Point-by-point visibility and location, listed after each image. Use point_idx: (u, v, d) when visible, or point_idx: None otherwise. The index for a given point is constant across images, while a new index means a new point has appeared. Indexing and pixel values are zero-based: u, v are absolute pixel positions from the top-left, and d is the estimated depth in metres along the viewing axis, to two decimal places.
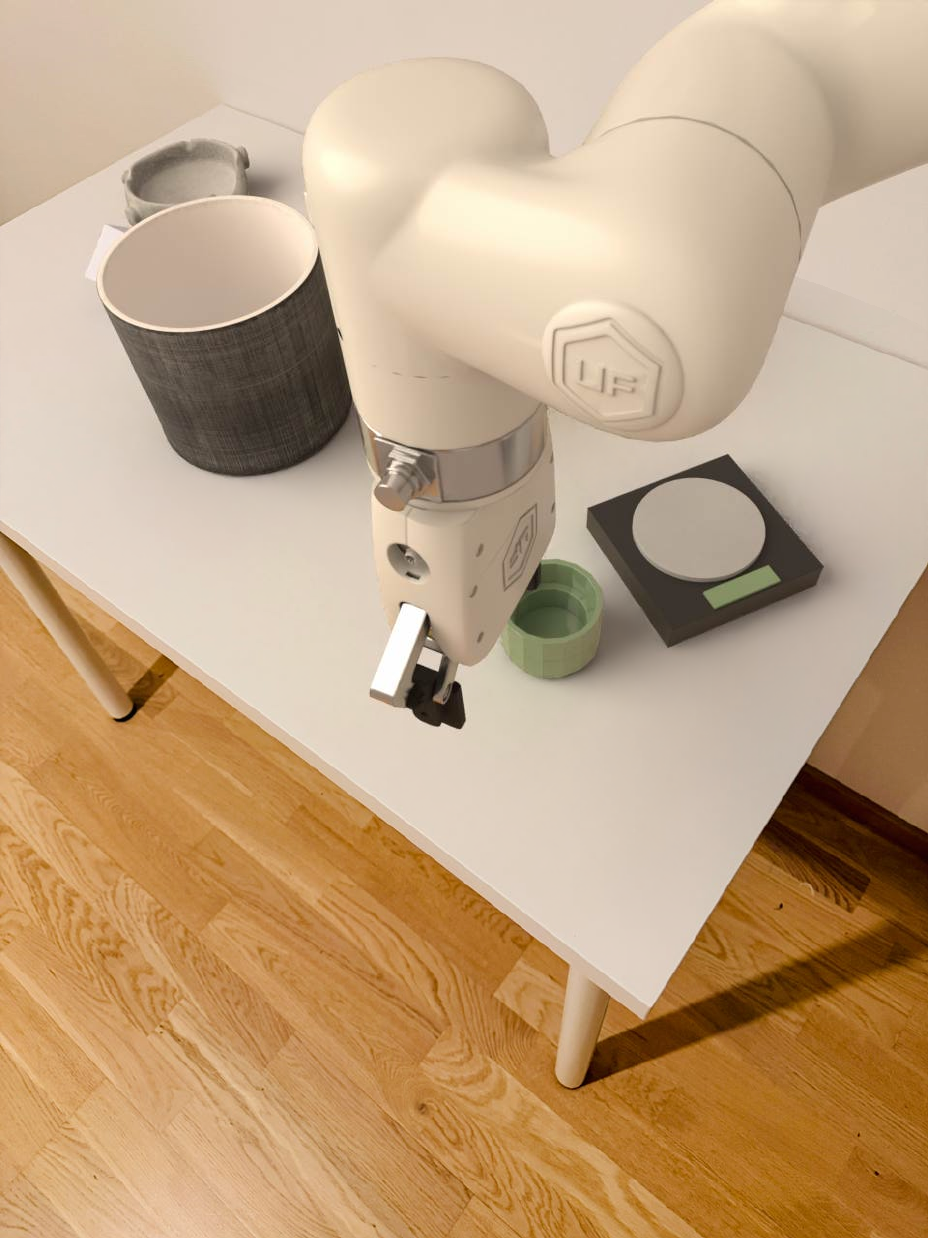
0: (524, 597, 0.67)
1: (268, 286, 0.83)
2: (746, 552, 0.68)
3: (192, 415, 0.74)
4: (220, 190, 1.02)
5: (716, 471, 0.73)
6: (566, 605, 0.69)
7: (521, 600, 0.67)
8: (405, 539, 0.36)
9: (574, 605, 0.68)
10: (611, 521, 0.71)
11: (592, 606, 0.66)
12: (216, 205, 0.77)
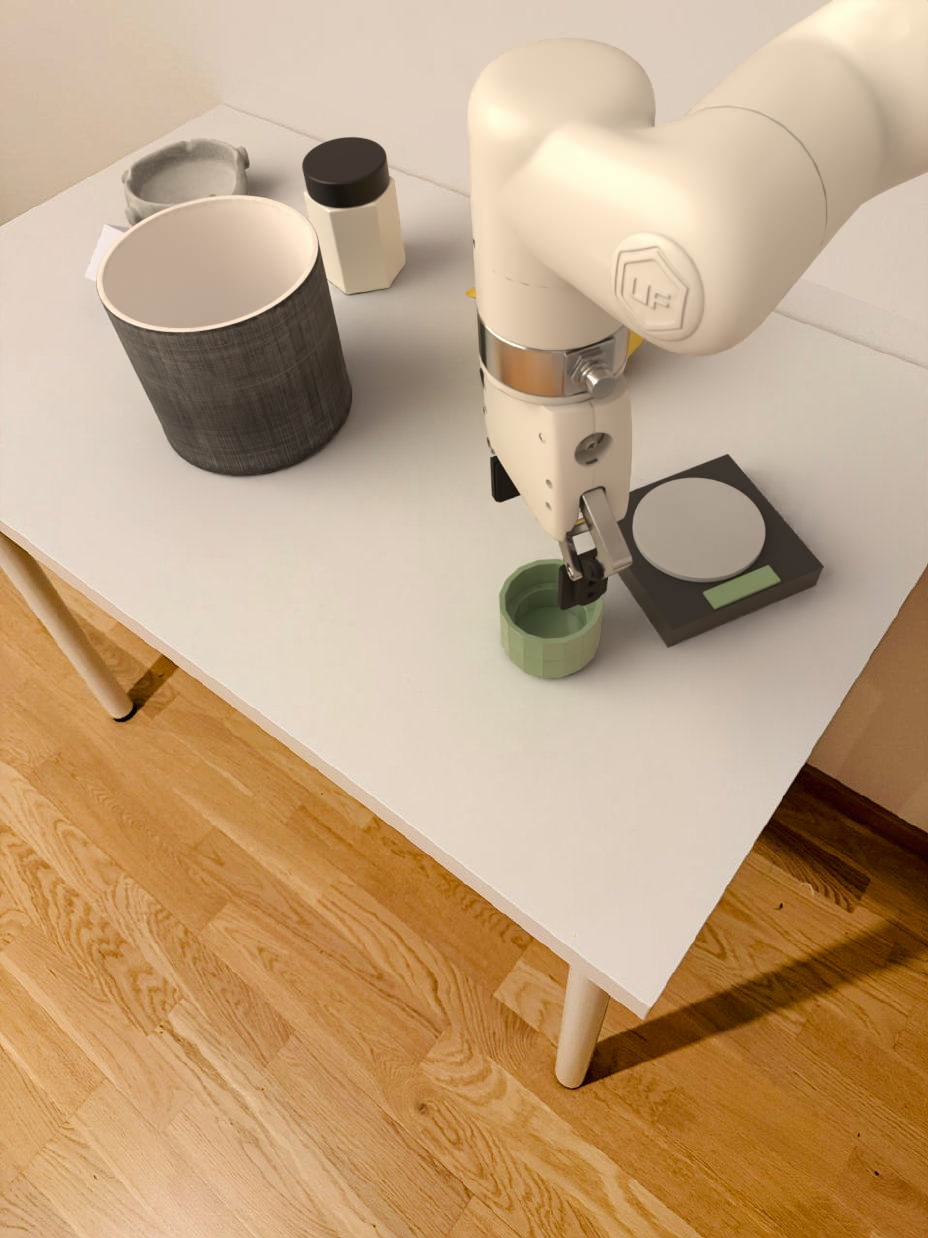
0: (524, 597, 0.67)
1: (268, 286, 0.83)
2: (746, 552, 0.68)
3: (192, 415, 0.74)
4: (220, 190, 1.02)
5: (716, 471, 0.73)
6: None
7: (521, 600, 0.67)
8: (592, 428, 0.44)
9: None
10: None
11: (592, 606, 0.66)
12: (216, 205, 0.77)
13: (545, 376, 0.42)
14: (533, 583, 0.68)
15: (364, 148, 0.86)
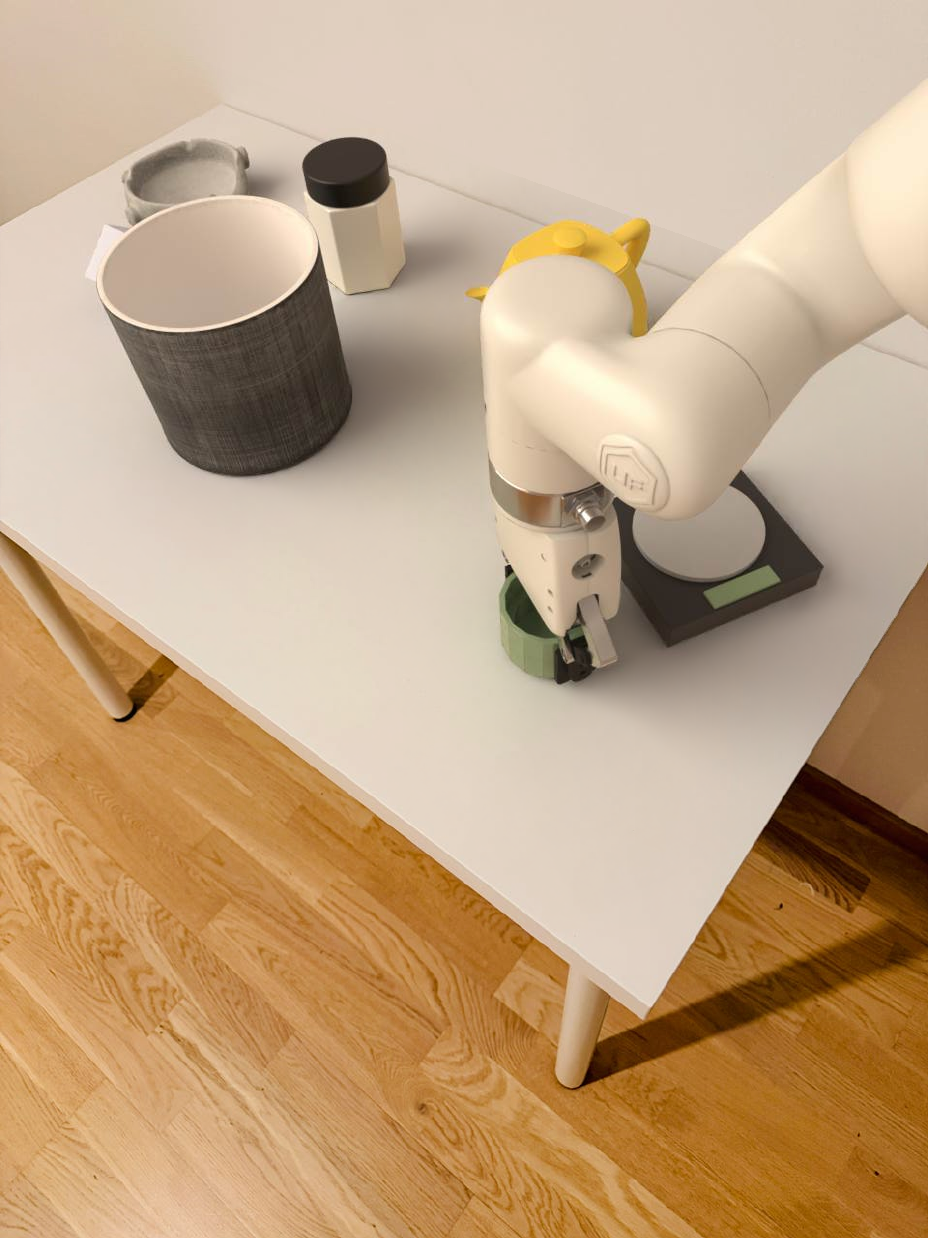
0: (524, 597, 0.67)
1: (268, 286, 0.83)
2: (746, 552, 0.68)
3: (192, 415, 0.74)
4: (220, 190, 1.02)
5: None
6: None
7: (521, 600, 0.67)
8: (587, 551, 0.53)
9: None
10: None
11: None
12: (216, 205, 0.77)
13: (546, 512, 0.51)
14: None
15: (364, 148, 0.86)
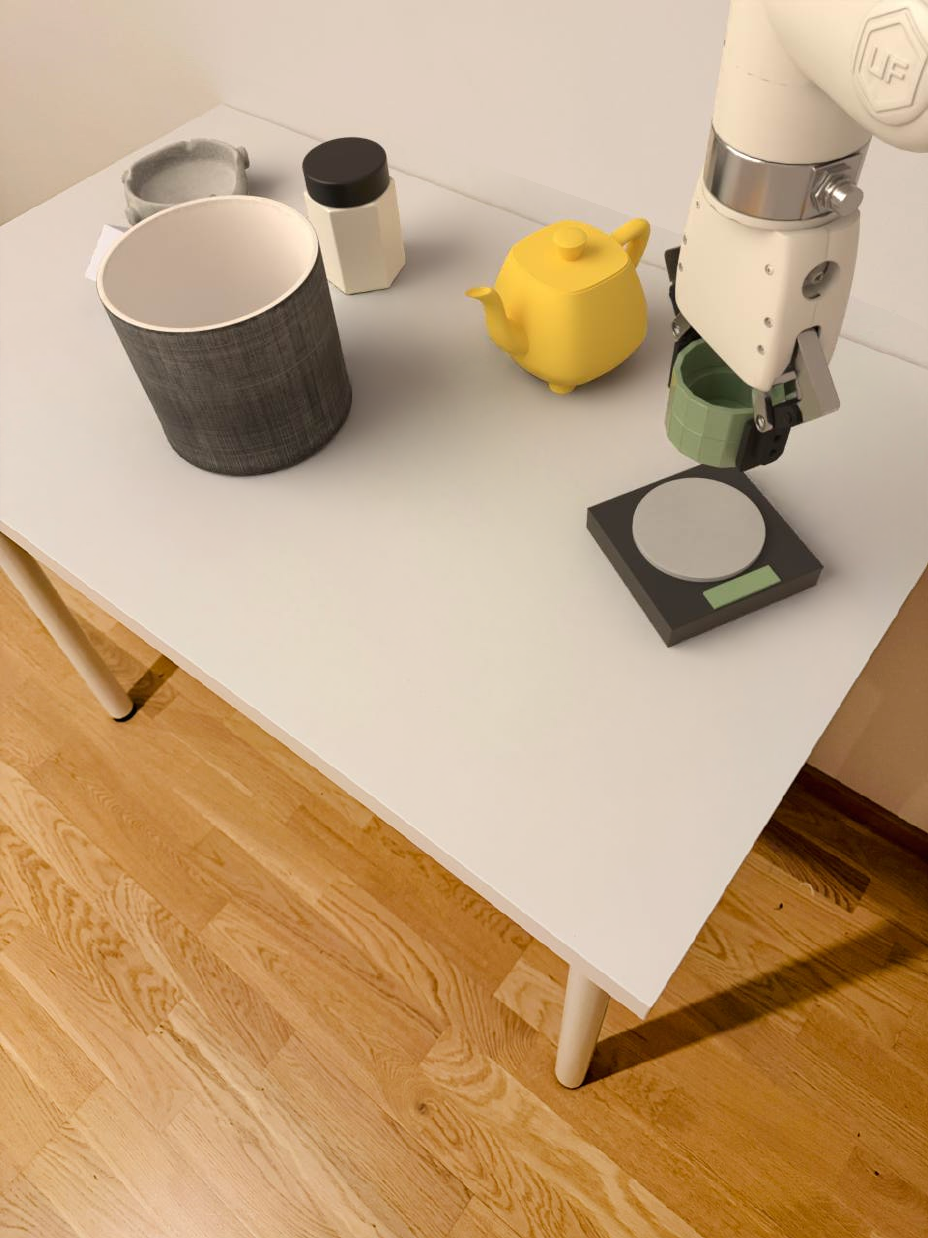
0: (694, 381, 0.59)
1: (268, 286, 0.83)
2: (746, 552, 0.68)
3: (192, 415, 0.74)
4: (220, 190, 1.02)
5: (716, 471, 0.73)
6: (738, 395, 0.61)
7: (691, 383, 0.59)
8: (825, 255, 0.45)
9: (749, 392, 0.60)
10: (611, 521, 0.71)
11: None
12: (216, 205, 0.77)
13: (787, 196, 0.43)
14: (703, 366, 0.59)
15: (364, 148, 0.86)
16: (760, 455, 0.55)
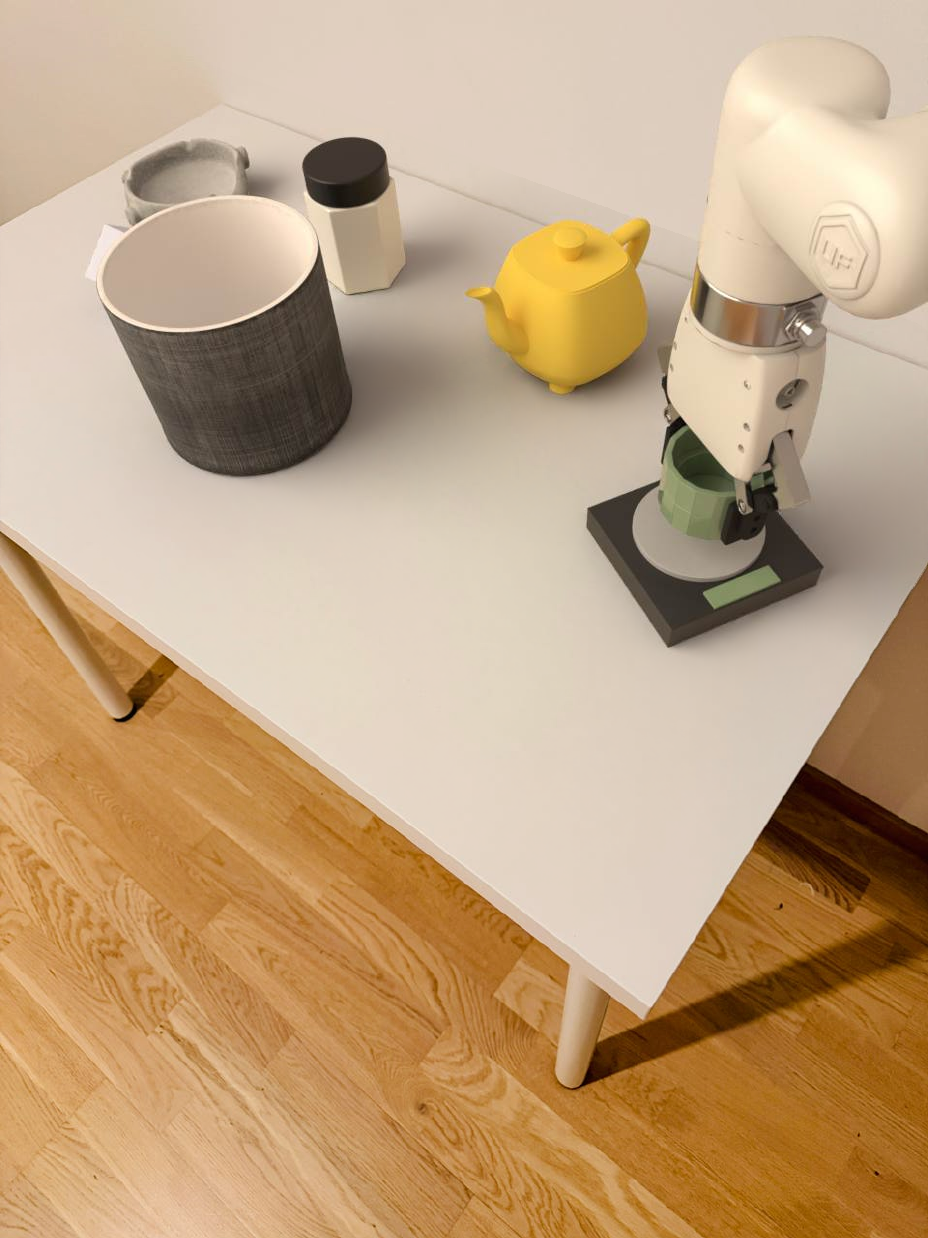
0: (684, 460, 0.66)
1: (268, 286, 0.83)
2: (746, 552, 0.68)
3: (192, 415, 0.74)
4: (220, 190, 1.02)
5: None
6: (724, 471, 0.67)
7: (681, 463, 0.66)
8: (795, 375, 0.51)
9: None
10: (611, 521, 0.71)
11: None
12: (216, 205, 0.77)
13: (762, 328, 0.49)
14: (692, 447, 0.66)
15: (364, 148, 0.86)
16: (742, 532, 0.62)
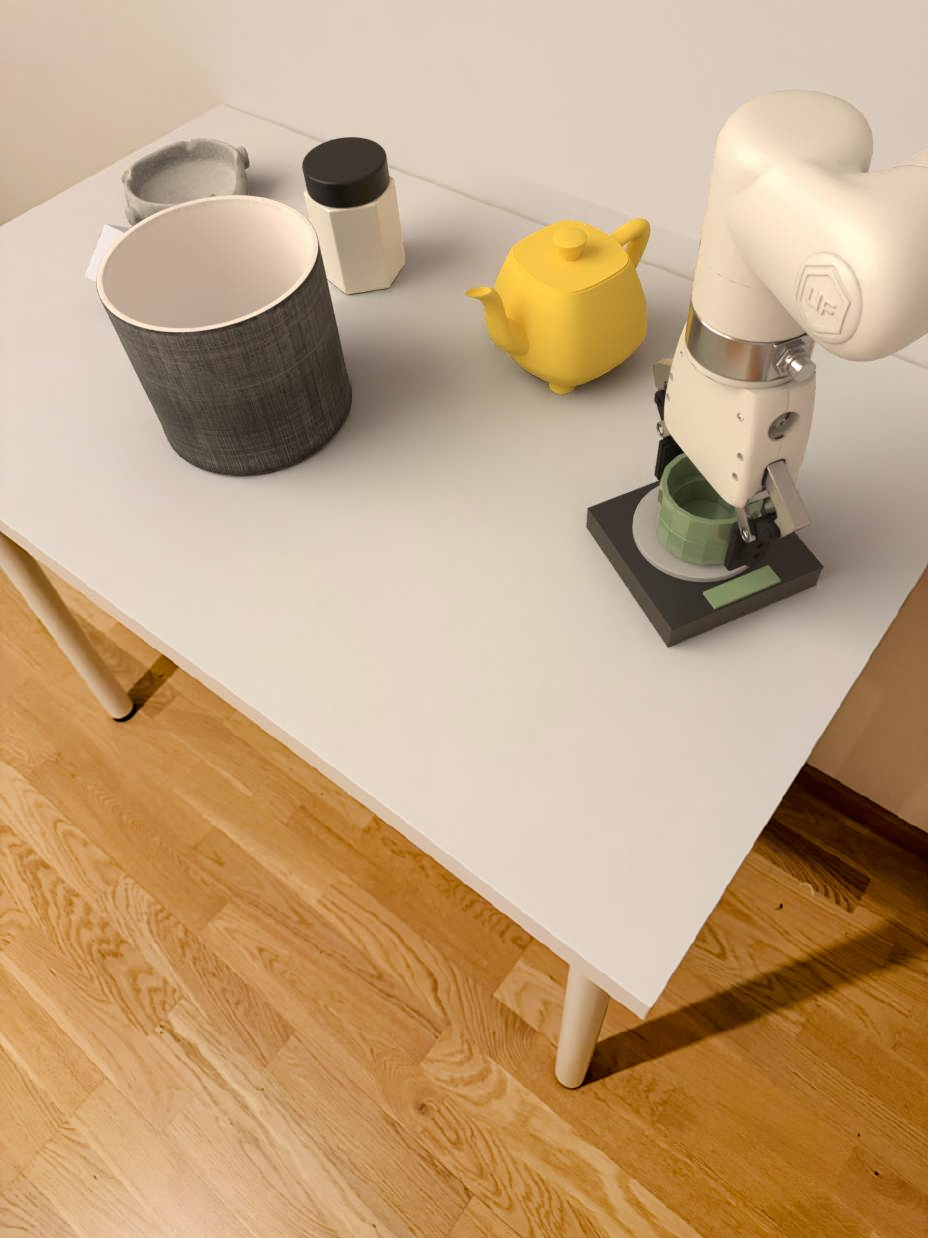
0: (679, 487, 0.68)
1: (268, 286, 0.83)
2: None
3: (192, 415, 0.74)
4: (220, 190, 1.02)
5: None
6: (718, 497, 0.70)
7: (676, 490, 0.68)
8: (786, 407, 0.53)
9: None
10: (611, 521, 0.71)
11: None
12: (216, 205, 0.77)
13: (753, 364, 0.51)
14: (687, 474, 0.69)
15: (364, 148, 0.86)
16: (745, 559, 0.63)
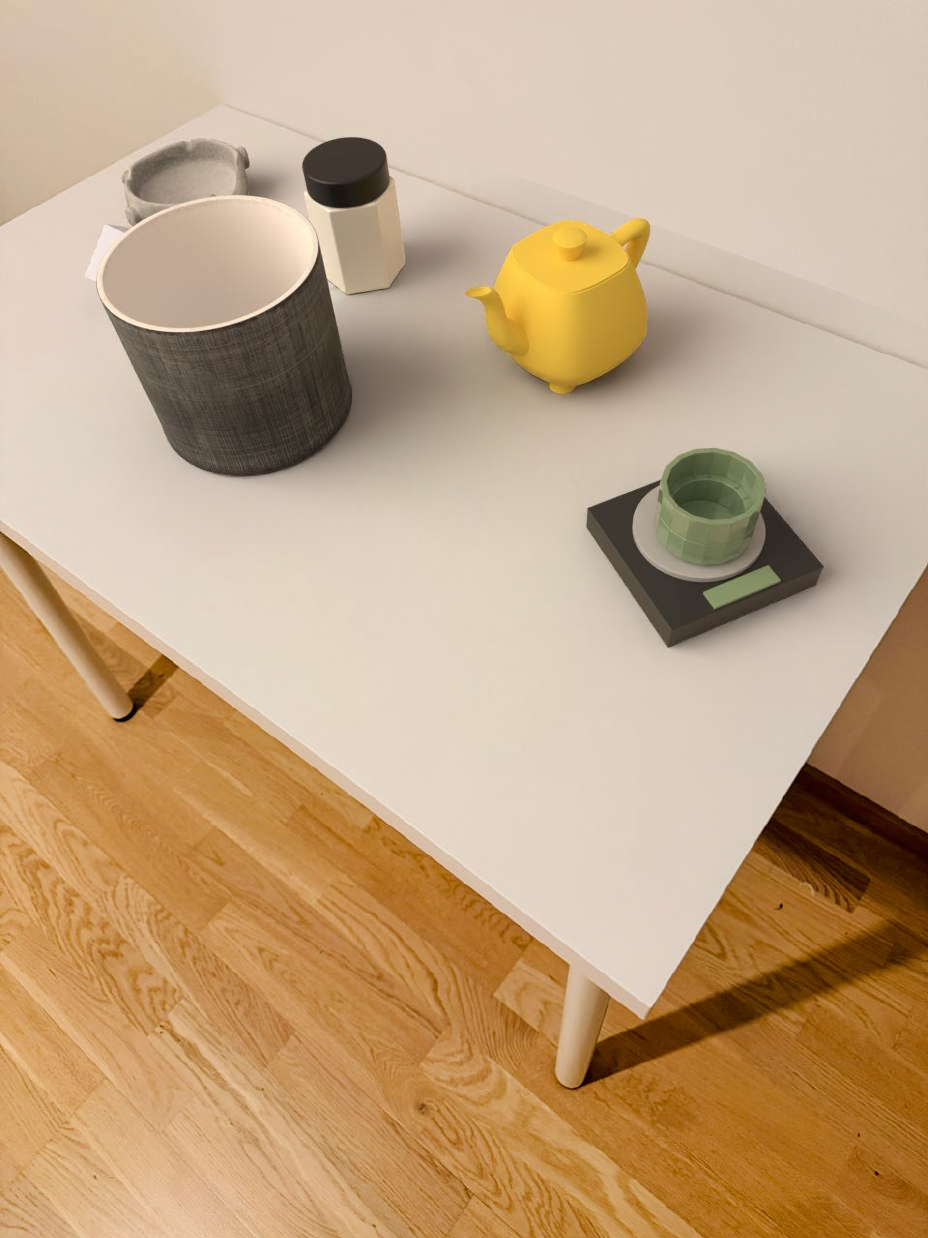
0: (679, 487, 0.68)
1: (268, 286, 0.83)
2: (746, 552, 0.68)
3: (192, 415, 0.74)
4: (220, 190, 1.02)
5: None
6: (718, 497, 0.70)
7: (676, 490, 0.68)
8: None
9: (727, 496, 0.69)
10: (611, 521, 0.71)
11: (748, 494, 0.67)
12: (216, 205, 0.77)
13: None
14: (687, 474, 0.69)
15: (364, 148, 0.86)
16: None
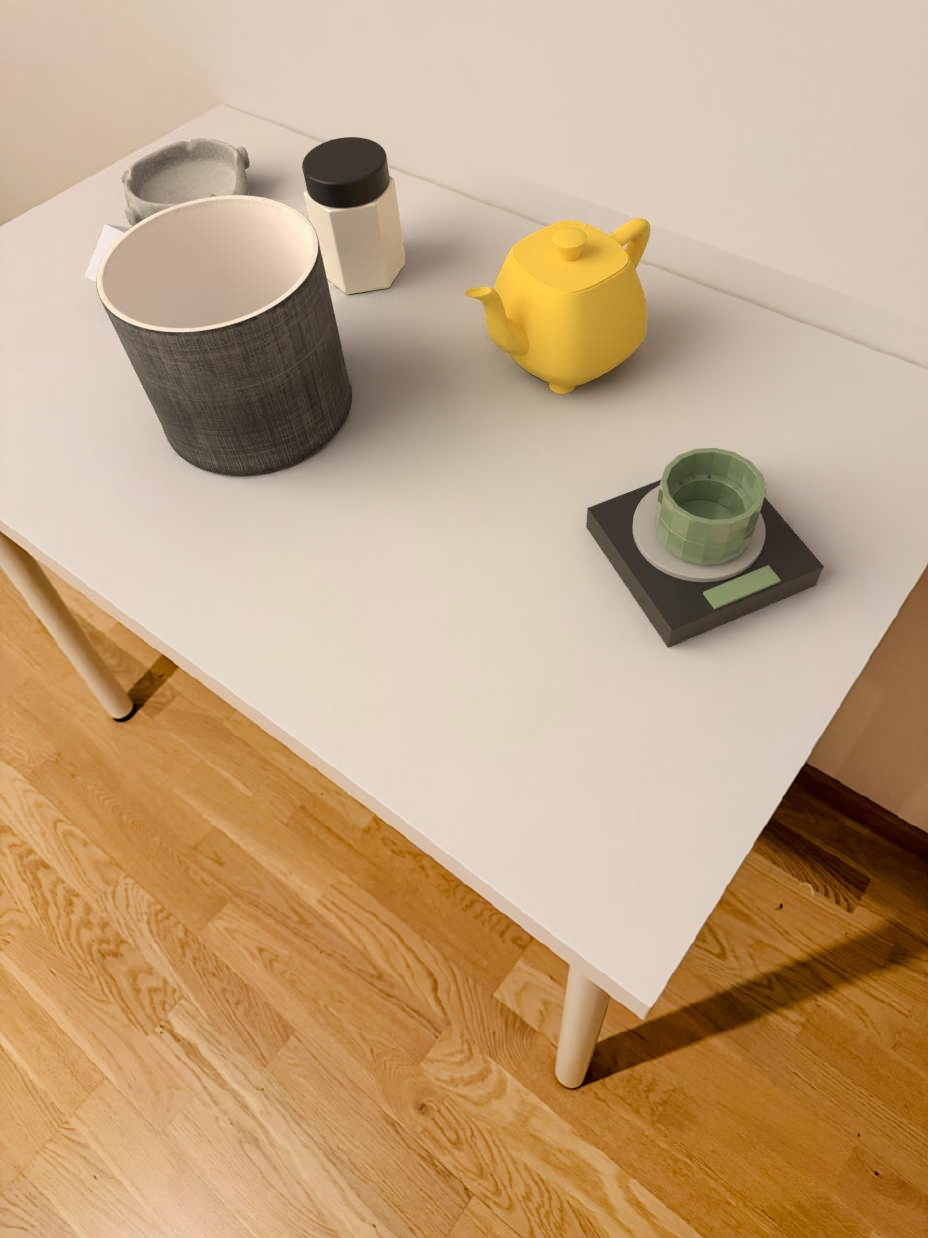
0: (679, 487, 0.68)
1: (268, 286, 0.83)
2: (746, 552, 0.68)
3: (192, 415, 0.74)
4: (220, 190, 1.02)
5: None
6: (718, 497, 0.70)
7: (676, 490, 0.68)
8: None
9: (727, 496, 0.69)
10: (611, 521, 0.71)
11: (748, 494, 0.67)
12: (216, 205, 0.77)
13: None
14: (687, 474, 0.69)
15: (364, 148, 0.86)
16: None
